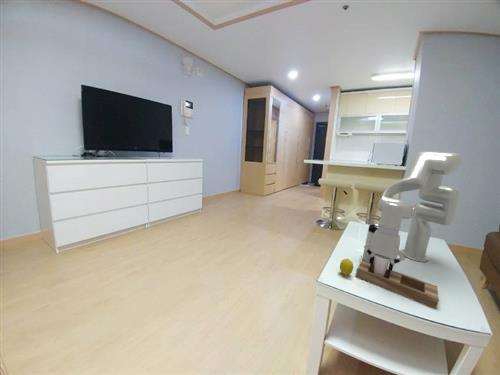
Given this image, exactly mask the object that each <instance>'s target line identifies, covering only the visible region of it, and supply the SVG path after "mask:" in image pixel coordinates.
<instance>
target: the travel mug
mask: <svg viewBox="0 0 500 375" xmlns="http://www.w3.org/2000/svg"><path fill="white" fill-rule="evenodd" d="M375 224H376V223H375ZM375 224H373V223H371V224H369V225H368V228H367V234H366V239H365V244H364V246H365V245H367V244H369V243H371V242H372V239H373V236H374V233H375V231H376V230H377V228H376V227H375ZM370 247H371V246H370ZM370 247H369V249H370ZM363 248H364V247H363ZM362 260H364V261H367V262H369V261H370V255H369V254H368V252H367V251H366V249H365V248H364V249H363V255H362V259H361V261H362ZM374 263H375V258H374V262H373V264H374Z"/></svg>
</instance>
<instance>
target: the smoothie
mask: <svg viewBox="0 0 500 375" xmlns="http://www.w3.org/2000/svg"><path fill="white" fill-rule="evenodd" d="M374 257H375V263H374V274H376V275H379V276H382V277H384V274H385V272H386V269H388V268H389V264H390V262H391V260H390V258H387V257H384V256H381V255H378V254H375V255H374Z"/></svg>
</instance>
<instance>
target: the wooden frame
mask: <svg viewBox="0 0 500 375" xmlns="http://www.w3.org/2000/svg"><path fill="white" fill-rule="evenodd" d="M370 265H371V263H369V262H367V261H364V260H362V259H361V261H360V263H359V265H358V266H357V268H356V272H355V278H357V279H360V280H363V281H365V282H368V283H369V284H373V285H375V286H376V287H380V288H382V289H385V290H388V291H390V292H391V293H392V292H393V293H395V294H397V295H398V296H399V295H400V296H402V297H405V298H406V299H407V298H408V299H409V300H412V301H414V302H417V303H420V304H422V305H424V306H428V307H430V308H432V309H435V310H437V307H438V304H439V301H440V300H439V290H438V285H435V284H432V283H428V282H426V281H423V280H421V279H418V278H415V277H413V276H412V277H411V276H409V275H406V274H404V273H400V272H397V271H395V270H392V271H391V270H390V273H389V272H388V268H387V269H386V272H385V274H384V277H382V276H379V275H376V274H374V264H373V265H372V266H370Z"/></svg>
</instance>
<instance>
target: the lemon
mask: <svg viewBox="0 0 500 375" xmlns="http://www.w3.org/2000/svg"><path fill="white" fill-rule="evenodd" d="M339 270H340V271H341V273H342V274H343V275H344V276H347V275H348V276H349V275H350V274H352V273H353V270H354V263H353V261H352V260H350V259H349V258H343V259H342V260H341V261H340V264H339Z"/></svg>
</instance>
